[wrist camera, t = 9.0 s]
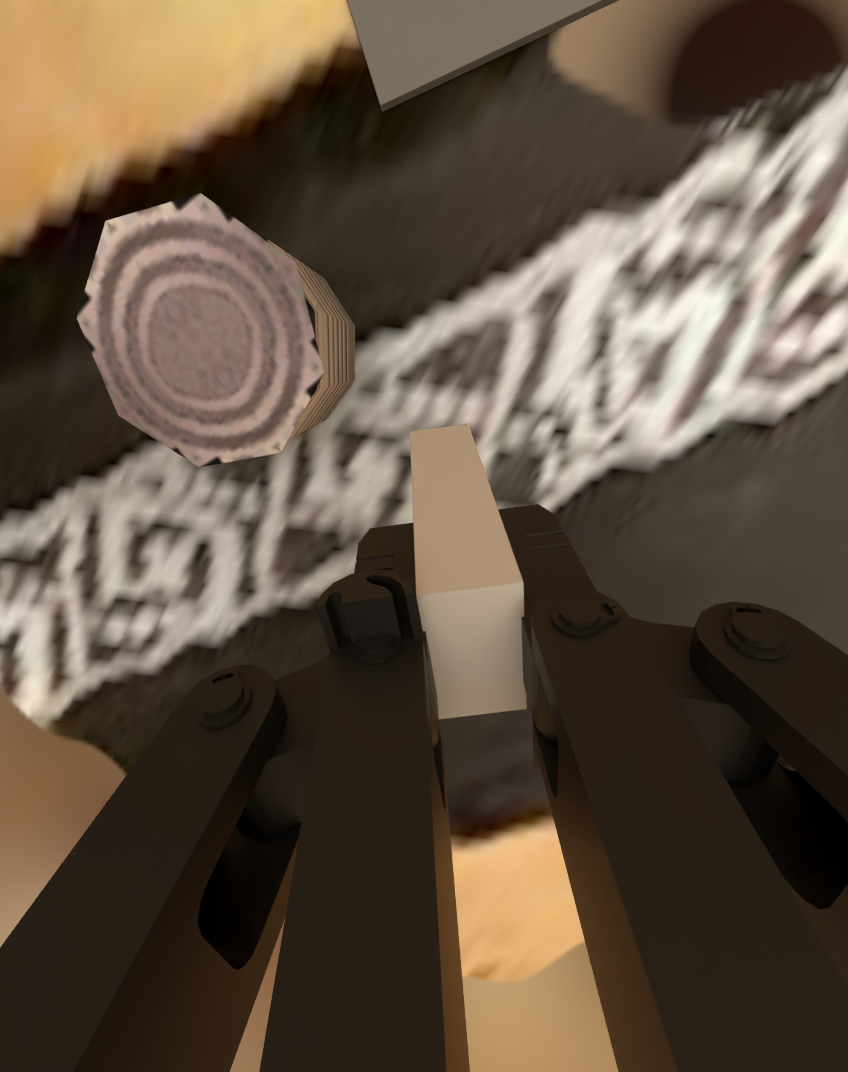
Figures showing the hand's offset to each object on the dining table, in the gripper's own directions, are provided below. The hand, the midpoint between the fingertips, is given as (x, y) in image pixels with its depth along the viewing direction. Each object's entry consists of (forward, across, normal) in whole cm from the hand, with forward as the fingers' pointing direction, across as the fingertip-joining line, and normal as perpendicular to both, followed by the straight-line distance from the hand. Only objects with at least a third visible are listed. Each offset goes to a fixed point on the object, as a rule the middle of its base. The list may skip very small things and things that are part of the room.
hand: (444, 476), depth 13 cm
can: (+24, -10, 0) cm, 26 cm away
